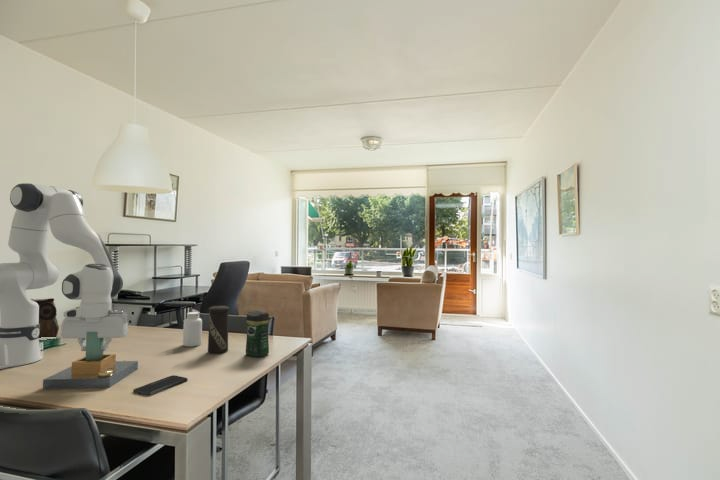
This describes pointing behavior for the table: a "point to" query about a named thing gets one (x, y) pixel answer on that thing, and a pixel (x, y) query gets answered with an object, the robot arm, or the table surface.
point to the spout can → (94, 347)
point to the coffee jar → (257, 334)
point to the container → (218, 329)
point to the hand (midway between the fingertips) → (94, 350)
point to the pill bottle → (192, 330)
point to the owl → (47, 317)
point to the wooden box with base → (91, 373)
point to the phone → (160, 385)
